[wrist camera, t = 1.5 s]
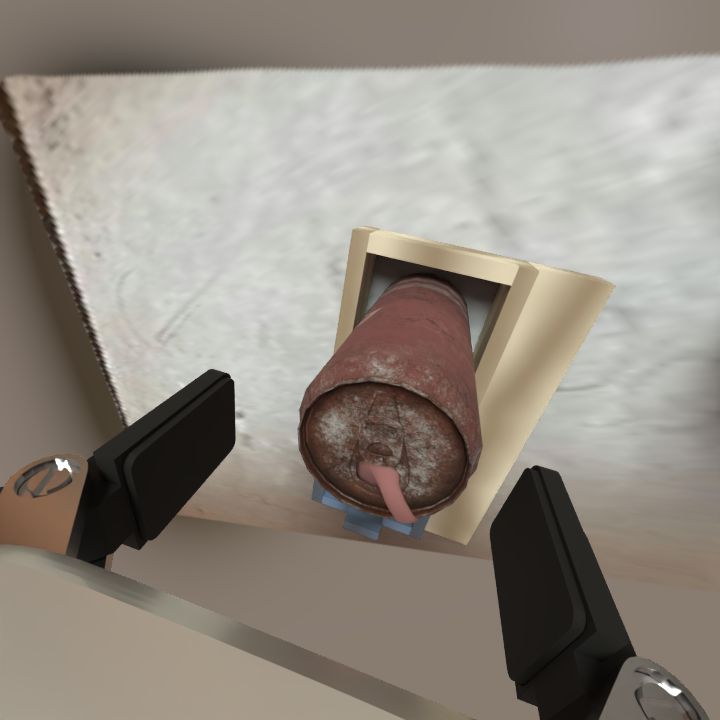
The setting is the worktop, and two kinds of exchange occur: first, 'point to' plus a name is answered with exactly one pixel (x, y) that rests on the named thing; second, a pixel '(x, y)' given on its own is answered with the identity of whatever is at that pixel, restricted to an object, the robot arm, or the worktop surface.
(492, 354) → the open rectangular box frame
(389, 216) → the worktop surface
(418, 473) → the can
